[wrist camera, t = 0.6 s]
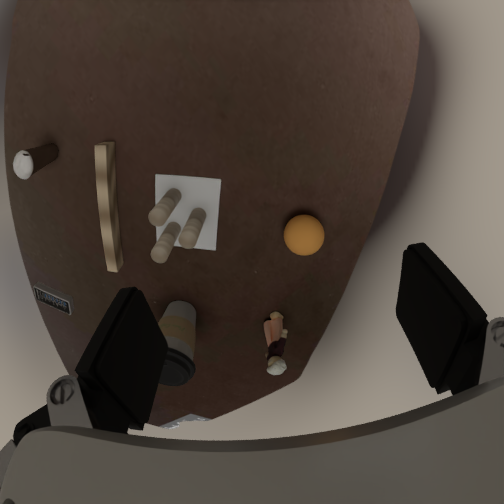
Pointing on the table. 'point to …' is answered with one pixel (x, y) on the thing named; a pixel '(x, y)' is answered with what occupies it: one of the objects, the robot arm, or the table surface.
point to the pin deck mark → (192, 204)
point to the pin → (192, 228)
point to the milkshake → (34, 159)
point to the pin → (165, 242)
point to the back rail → (108, 204)
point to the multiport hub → (54, 298)
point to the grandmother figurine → (275, 343)
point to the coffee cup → (178, 343)
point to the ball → (304, 235)
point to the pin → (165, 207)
